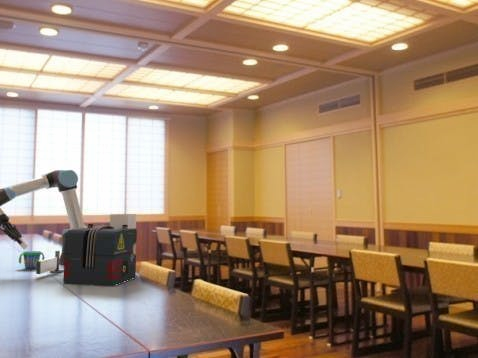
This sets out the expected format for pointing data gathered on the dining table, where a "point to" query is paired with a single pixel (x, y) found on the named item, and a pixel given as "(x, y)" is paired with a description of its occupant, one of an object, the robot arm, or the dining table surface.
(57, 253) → the panel post
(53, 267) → the swing panel
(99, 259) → the power unit
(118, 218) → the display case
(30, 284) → the dining table surface
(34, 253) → the snack cup
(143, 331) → the dining table surface
